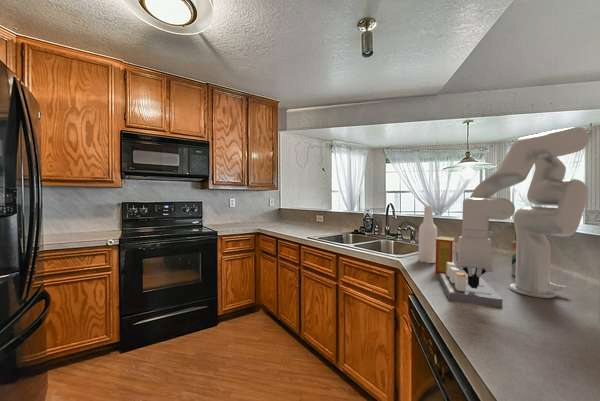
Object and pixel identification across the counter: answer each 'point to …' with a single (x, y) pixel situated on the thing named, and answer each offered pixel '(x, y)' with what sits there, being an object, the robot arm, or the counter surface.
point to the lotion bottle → (514, 257)
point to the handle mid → (453, 273)
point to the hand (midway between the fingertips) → (473, 287)
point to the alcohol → (427, 237)
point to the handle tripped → (460, 281)
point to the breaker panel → (471, 292)
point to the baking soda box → (444, 253)
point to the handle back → (449, 264)
